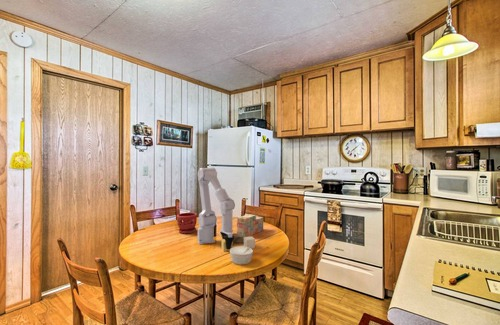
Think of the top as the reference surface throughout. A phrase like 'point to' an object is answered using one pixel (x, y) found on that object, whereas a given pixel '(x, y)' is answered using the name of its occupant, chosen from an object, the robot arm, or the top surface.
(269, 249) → the top surface
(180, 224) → the plant pot
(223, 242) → the ochre block
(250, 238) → the off-white block
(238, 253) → the ramekin
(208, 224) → the robot arm
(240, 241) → the walnut base block
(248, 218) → the stack of blocks
